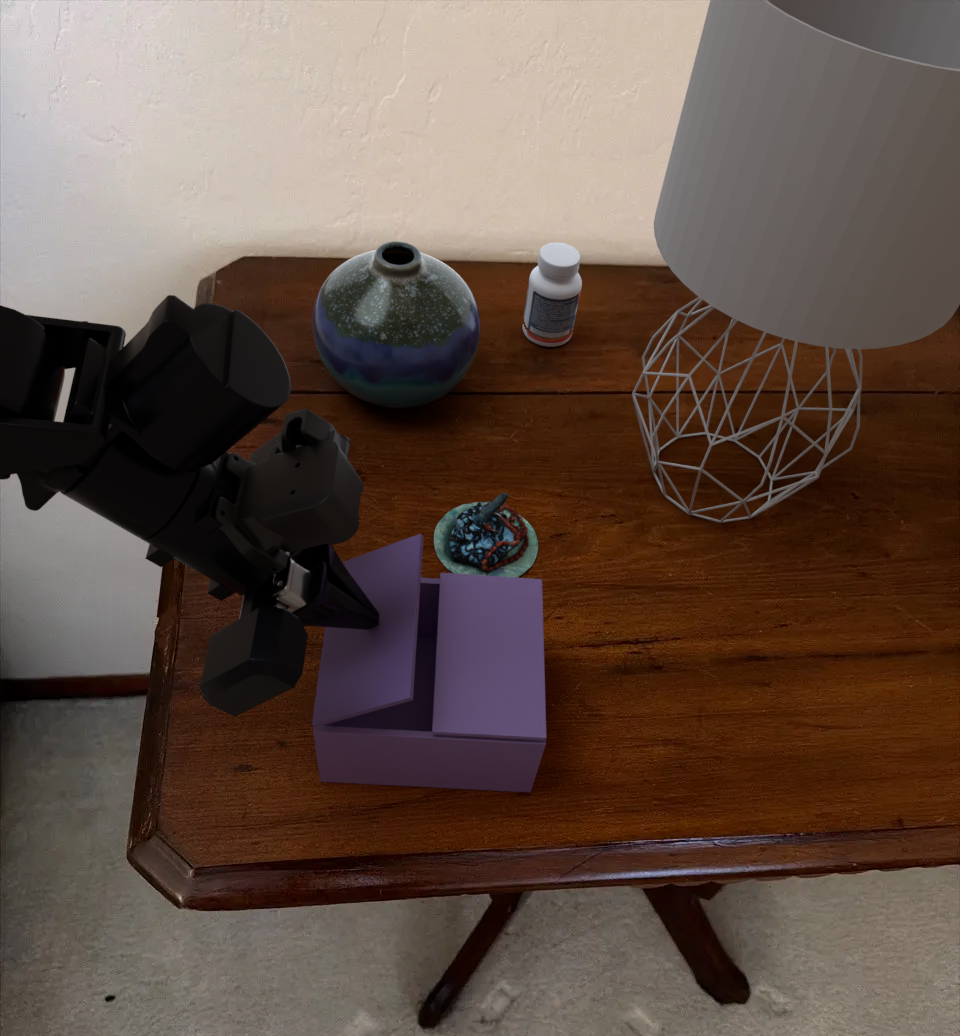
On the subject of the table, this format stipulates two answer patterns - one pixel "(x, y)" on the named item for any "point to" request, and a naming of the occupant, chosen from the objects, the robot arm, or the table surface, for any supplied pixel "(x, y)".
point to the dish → (486, 540)
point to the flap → (374, 638)
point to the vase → (396, 326)
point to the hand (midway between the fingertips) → (374, 622)
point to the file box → (457, 696)
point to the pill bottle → (553, 295)
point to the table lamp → (813, 193)
